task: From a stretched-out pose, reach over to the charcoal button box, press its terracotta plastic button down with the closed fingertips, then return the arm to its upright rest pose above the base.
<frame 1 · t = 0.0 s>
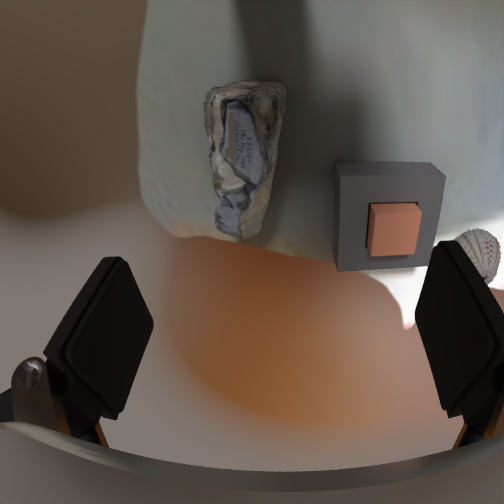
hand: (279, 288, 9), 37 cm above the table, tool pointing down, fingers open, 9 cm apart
button box: (381, 208, 46), on the table
sea urchin shell: (466, 251, 50), on the table
button: (393, 229, 41), point 7 cm above the table, slide at 0.0 cm
fossil rock: (244, 147, 43), on the table
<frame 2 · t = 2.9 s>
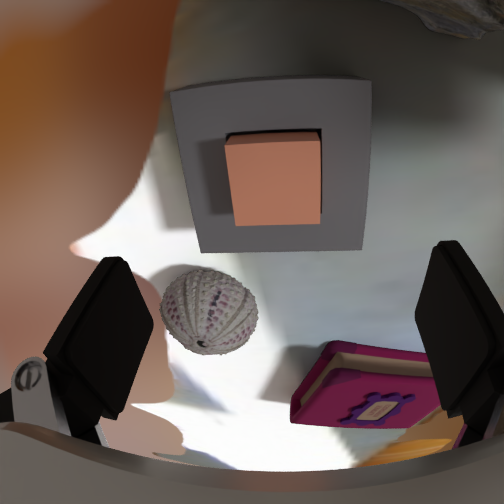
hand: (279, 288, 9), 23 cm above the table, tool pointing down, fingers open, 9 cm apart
button box: (277, 154, 30), on the table
sea urchin shell: (213, 298, 43), on the table
book: (374, 378, 53), on the table
button: (275, 178, 25), point 7 cm above the table, slide at 0.0 cm
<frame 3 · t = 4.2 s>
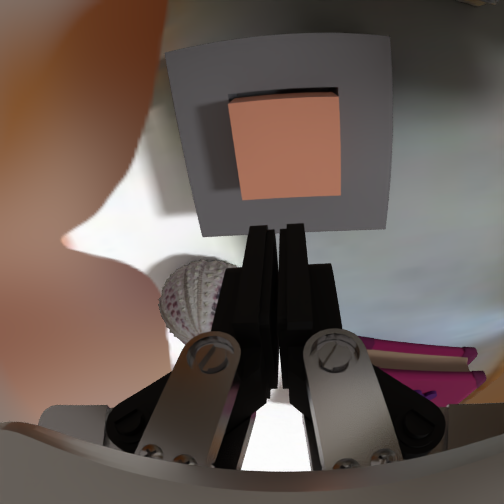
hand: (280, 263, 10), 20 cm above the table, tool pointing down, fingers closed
button box: (287, 124, 26), on the table
sea urchin shell: (217, 292, 39), on the table
book: (391, 375, 48), on the table
button: (287, 143, 21), point 6 cm above the table, slide at 0.0 cm
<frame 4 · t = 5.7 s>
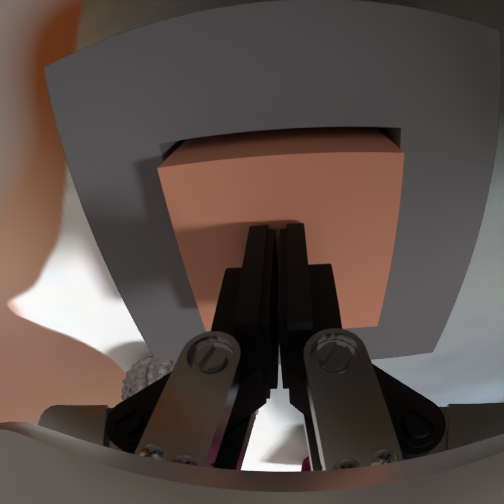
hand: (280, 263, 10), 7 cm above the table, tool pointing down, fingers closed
button box: (287, 178, 16), on the table
sea urchin shell: (194, 379, 29), on the table
button: (287, 235, 11), point 5 cm above the table, slide at 1.1 cm, touching gripper
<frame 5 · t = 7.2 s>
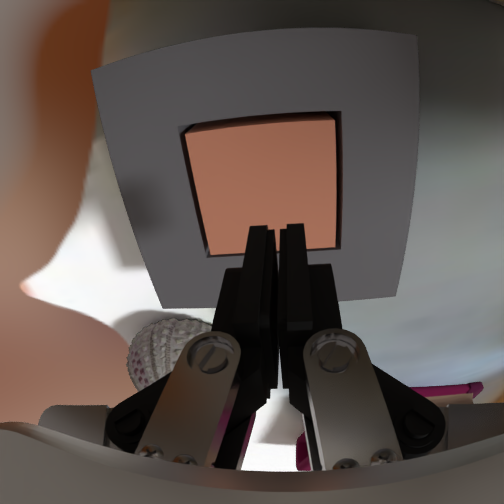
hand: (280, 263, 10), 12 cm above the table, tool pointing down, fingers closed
button box: (268, 158, 20), on the table
sea urchin shell: (193, 348, 33), on the table
book: (391, 415, 42), on the table
button: (267, 181, 16), point 4 cm above the table, slide at 2.2 cm
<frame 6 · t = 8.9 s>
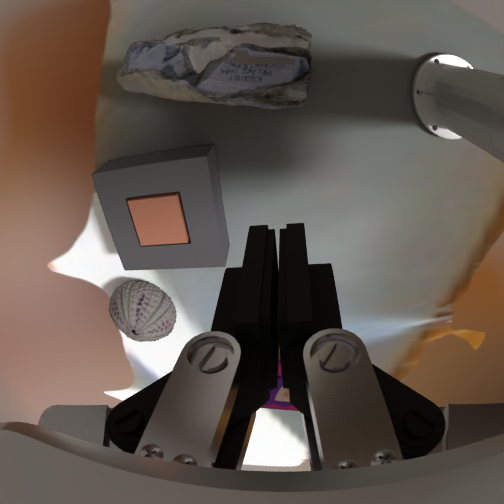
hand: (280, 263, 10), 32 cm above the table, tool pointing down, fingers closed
button box: (169, 202, 44), on the table
sea urchin shell: (146, 300, 57), on the table
book: (291, 366, 67), on the table
button: (160, 216, 41), point 4 cm above the table, slide at 2.2 cm
fossil rock: (222, 58, 33), on the table
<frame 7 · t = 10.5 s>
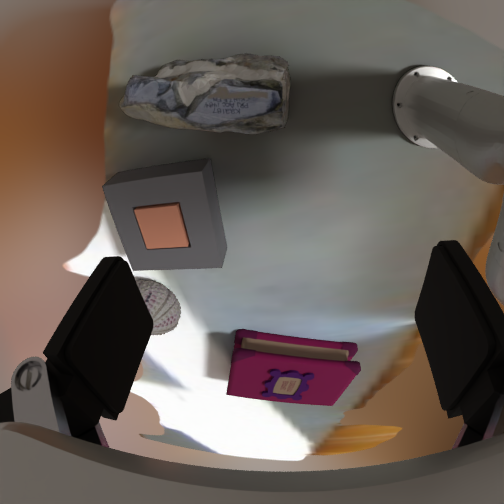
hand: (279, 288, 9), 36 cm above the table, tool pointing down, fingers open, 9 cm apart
button box: (172, 210, 50), on the table
sea urchin shell: (154, 298, 63), on the table
book: (289, 360, 72), on the table
button: (164, 223, 46), point 4 cm above the table, slide at 2.2 cm
fossil rock: (215, 82, 38), on the table
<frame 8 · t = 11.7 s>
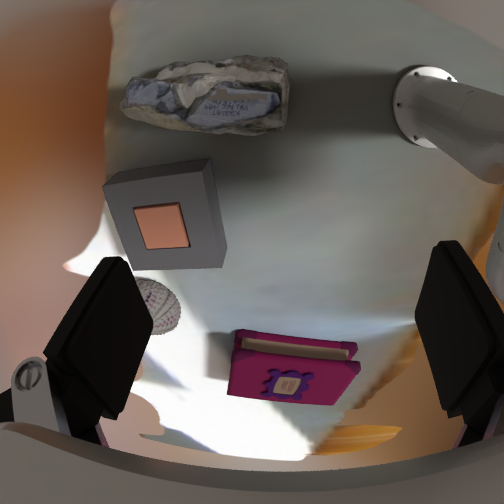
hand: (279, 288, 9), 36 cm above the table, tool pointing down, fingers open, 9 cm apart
button box: (172, 210, 50), on the table
sea urchin shell: (154, 297, 63), on the table
book: (289, 360, 72), on the table
button: (164, 223, 46), point 4 cm above the table, slide at 2.2 cm
fossil rock: (214, 84, 38), on the table
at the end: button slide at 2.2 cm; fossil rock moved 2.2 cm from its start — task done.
